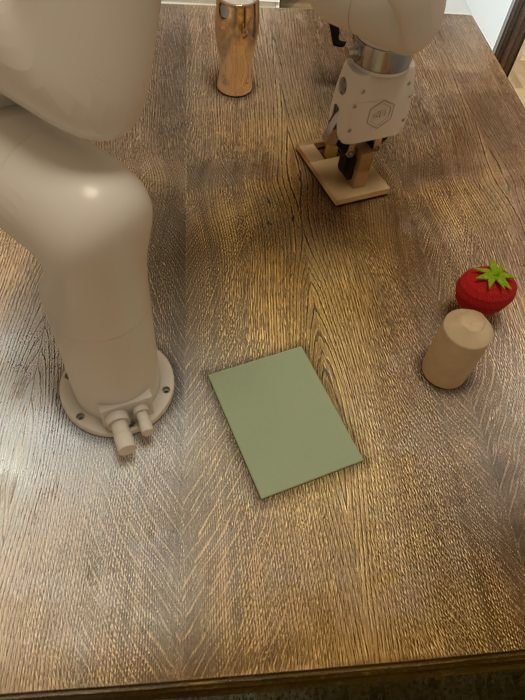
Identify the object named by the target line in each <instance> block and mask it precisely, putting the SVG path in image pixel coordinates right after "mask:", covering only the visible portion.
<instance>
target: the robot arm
mask: <svg viewBox="0 0 525 700" xmlns="http://www.w3.org/2000/svg"><path fill="white" fill-rule="evenodd" d="M309 3H310V7H311V8H312V10H313V11H314V13H315V14H316V15H317V16H318V17H319V18H320V19H322V20H323V21H324V22H326V23H328V24H329V23H330V24H332V25H334V26H337V27H339V29H341V30H342V31H345V32H347V33H349V34H351V35H352V36H353V35H354V39H353V38H352V44H350V45H345V46H344V49H343V55H344V57H345V60H344V63H343V65H342V68H341V70H340V74H339V75H338V78H337V80H336V81H337V82H336V85H335V88H334V90H333V94H332V98H331V100H332V102H331V101H330V107H329V112H328V120H327V127H326V128H325V130H324V131H323V133H322V135H321V138H322V140H323V141H324V142H325V144H326V145H330V146H337V147H338V148H339V149H340V150H341V151H340V150H339V149H338V150H339V152H340V153H339V156H340V157H339V156H338V157H339V161H338V169H339V171H340V172H341V173H342V174H343V175H344V177H345V178H346V179H347V180H350V179H351V178H352V175H353V171H354V167H355V163H356V159H357V158H356V156H355V155H354V154H355V150H356V146H357V143H360V142H365V141H366V142H367V144H368V145H369V146H370V147H371V149H372V150H373V151H374V154H375V153H377V152H379V151H380V148H381V145H382V144H383V143H384V142H385V141H387V140H388V138H389V137H393V136H396V135H398V134H400V133H401V132H402V131H403V130H404V128H405V125H406V123H407V120H408V115H409V112H410V107H411V102H412V98H413V93H414V87H415V81H416V79H415V78H416V61H415V60H414V59H413V57H414V55H416V54H418V53H420V52H422V51H423V50H424V49H426V48H427V47H428V45H430V44H431V42H432V41H433V39H434V38H435V37H436V35H437V33H438V31H439V29H440V27H441V25H442V22H443V19H444V15H445V11H446V8H447V7H446V6H447V0H309ZM161 5H162V0H0V229H1V230H2V231H3V232H4V233H5V234H6V235H8V236H9V237H10V238H11V239H13V240H14V241H15V242H17V243H18V244H20V245H21V246H22V247H23V248H24V249H26V250H27V251H28V252H29V253H30V254H31V255H32V256H33V257H34V259H36V260H37V262H38V263H39V265H40V266H41V268H42V272H41V274H40V276H39V281H38V295H39V298H40V300H39V301H40V303H41V306H42V308H43V312H44V315H45V317H46V319H47V322H48V325H49V328H50V331H51V333H52V336H53V340H54V342H55V344H56V347H57V350H58V353H59V355H60V358H61V361H62V364H63V367H64V370H63V372H62V373H61V377H60V381H59V386H58V387H59V389H58V392H59V398H60V402H61V406H62V408H63V410H64V412H65V414H66V415H67V417H68V418H69V421H71V422H72V423H73V424H74V425H75V426H77V428H79V429H81V430H83V431H85V432H86V433H89V434H92V435H94V436H98V437H104V438H113V441H114V444H115V447H116V451H117V454H118V455H119V456H128V455H131V454H133V453H135V451H137V448H138V447H137V444H136V441H135V437H134V436H133V435H134V434H137V433H140V435H141V436H142V437H149V436H151V435H153V434H154V433H155V428H154V426H153V425H154V424H155V423H157V421H158V420H160V419H161V417H162V416H163V415H164V414H165V413H166V412H167V410H168V408H169V407H170V405H171V403H172V401H173V397H174V394H175V382H176V381H175V374H174V371H173V368H172V365H171V363H170V361H169V360H168V357H166V356H165V354H164V353H163V352H162V351H161V350H159V349H158V348H157V340H156V331H155V323H154V322H155V321H154V316H153V314H154V313H153V307H152V297H151V292H150V284H149V275H148V274H149V273H148V256H149V255H148V252H149V246H150V245H149V244H150V239H151V234H152V229H153V221H154V220H153V219H154V209H153V208H154V207H153V202H152V199H151V197H150V194H149V192H148V190H147V188H146V187H145V185H144V184H143V182H142V181H141V180H140V178H139V177H138V176H137V175H136V174H135V173H134V172H133V171H132V170H131V169H130V168H129V167H128V166H126V164H124V163H123V162H121V160H119V159H117V158H116V157H115V156H114V155H112V154H111V153H109V152H107V151H106V150H105V149H103V148H102V147H100V146H98V145H96V144H95V143H94V142H111V141H115V140H118V139H121V137H123V136H125V135H126V134H128V133H129V132H130V131H132V129H133V128H134V127H135V126H136V124H137V123H138V121H139V119H140V117H141V116H142V115H143V112H144V109H145V105H146V102H147V98H148V94H149V89H150V83H151V78H152V71H153V63H154V58H155V51H156V43H157V35H158V30H159V29H158V28H159V21H160V13H161V7H162V6H161ZM373 160H374V158H373V159H372V161H373ZM372 163H373V162H372ZM372 163H371V164H372ZM372 165H373V164H372Z"/></svg>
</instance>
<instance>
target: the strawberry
mask: <svg viewBox="0 0 525 700" xmlns="http://www.w3.org/2000/svg"><path fill="white" fill-rule="evenodd" d="M499 260H500V266H498V265H497V263H496V260H495V258H494V256H493V257H491V259H490V262H489V265H481V266H475V267H472V268H469V269H467V270H466V271H464V272H463V273H462V274H461V276H459V278H458V279H457V280H456V283H455V289H454V290H455V292H454V297H455V301H456V303H457V304H458V306H459V307H460V308H459V309H470V310H475V311H478V312H480V313H482V314H483V315H484V317H485V318H486V317H488V316H492V315H494V314H497V313H499V312H501V311H502V310H504V309H505V308H506V307H508V306H509V305H510V304H511V303H513V302H514V300H515V298H516V295H517V293H518V283H517V281H516V280H515V279H518V277H517V276H515V275H513V274H510V273H509V272H508V271H506V270H505V268H506V265H503V261H502V257H499Z"/></svg>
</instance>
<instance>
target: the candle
mask: <svg viewBox="0 0 525 700" xmlns="http://www.w3.org/2000/svg"><path fill="white" fill-rule="evenodd" d="M493 340H494V328H493V326H492V324H491V323H490V321H489V320H488V319H487V318H486V316H485V317H484V315H483V314H482V313H480V312H478V311H475V310H470V309H461V308H457V309H453V310H451V311H450V312H448V313H447V314H446V315H445V317H444V319H443V320H442V323H441V324H440V326H439V328H438V330H437V332H436V333H435V336H434V337H433V339H432V342H431V343H430V345H429V348H428V349H427V351H426V352H425V355H424V357H423V359H422V362H421V370H422V373H423V375H424V377H425V379H427V381H428V382H429V383H431V384H432V385H433V386H436V387H437V388H440V389H444V390H453V389H457V388H459V387H460V386H462V385H463V384H464V383H465V382H466V380H467V379H468V377H469V376H470V374H471V373H472V371H473V370H474V368H475V367H476V365H477V364H478V363H479V361H480V359H481V358H482V356H483V355H484V353H485V352H486V350H487V349H488V347H489V346H490V344H491V343H492V342H493Z"/></svg>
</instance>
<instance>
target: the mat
mask: <svg viewBox="0 0 525 700" xmlns="http://www.w3.org/2000/svg"><path fill="white" fill-rule="evenodd" d="M207 377H208V380H209V382H210V384H211V387H212V389H213V391H214V394H215V397H216V398H217V400H218V403H219V405H220V408H221V410H222V412H223V415H224V417H225V419H226V422H227V424H228V426H229V428H230V430H231V433H232V436H233V439H234V440H235V442H236V445H237V447H238V449H239V451H240V454H241V456H242V458H243V460H244V464H245V466H246V468H247V471H248V472H249V475H250V478H251V479H252V482H253V484H254V487H255V489H256V491H257V493H258V496H259V498H260V501H261V500H264V499H267V498H270V497H273V496H275V495H279V494H280V493H283V492H286V491H289V490H291V489H294V488H296V487H299V486H301V485H304V484H306V483H309V482H312V481H315V480H317V479H320V478H323V477H325V476H328V475H331V474H333V473H336V472H339V471H341V470H344V469H346V468H349V467H351V466H354V465H356V464H359V463H362V462H364V458H363V456H362V455H361V453H360V451H359V449H358V447H357V445H356V444H355V442H354V440H353V438H352V436H351V435H350V432H349V431H348V429H347V427H346V425H345V423H344V422H343V420H342V418H341V416H340V414H339V412H338V410H337V409H336V407H335V405H334V403H333V402H332V399H331V398H330V396H329V394H328V392H327V390H326V388H325V387H324V385H323V383H322V381H321V379H320V377H319V376H318V374H317V372H316V370H315V368H314V367H313V365H312V363H311V361H310V359H309V357H308V355H307V354H306V352H305V350H304V348H303V347H302V345H300V346H297V347H294V348H291V349H287V350H284V351H281V352H277V353H274V354H270V355H267V356H264V357H261V358H258V359H254V360H252V361H248V362H245V363H242V364H238V365H235V366H232V367H228V368H226V369H222V370H219V371H216V372H213V373H210V374H208V375H207Z"/></svg>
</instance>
